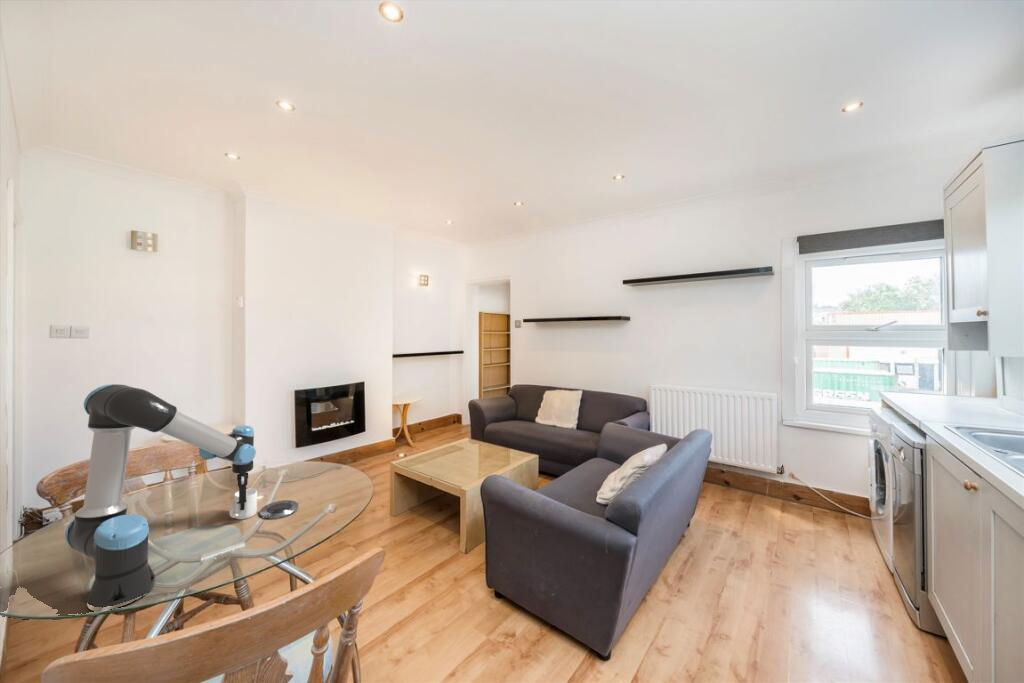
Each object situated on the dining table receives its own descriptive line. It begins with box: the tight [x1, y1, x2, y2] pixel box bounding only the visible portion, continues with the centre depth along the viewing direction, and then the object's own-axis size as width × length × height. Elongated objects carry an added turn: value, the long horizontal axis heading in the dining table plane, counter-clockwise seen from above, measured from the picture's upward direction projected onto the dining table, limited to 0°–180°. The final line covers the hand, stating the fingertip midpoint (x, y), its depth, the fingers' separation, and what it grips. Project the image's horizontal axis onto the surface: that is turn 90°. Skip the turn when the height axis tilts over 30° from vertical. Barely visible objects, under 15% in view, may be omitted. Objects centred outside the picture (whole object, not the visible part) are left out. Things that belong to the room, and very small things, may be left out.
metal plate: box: [259, 499, 299, 520], centre depth 173 cm, size 15×15×1 cm
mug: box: [229, 488, 258, 521], centre depth 165 cm, size 12×8×10 cm
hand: (242, 510), depth 166 cm, fingers closed on mug, 9 cm apart
